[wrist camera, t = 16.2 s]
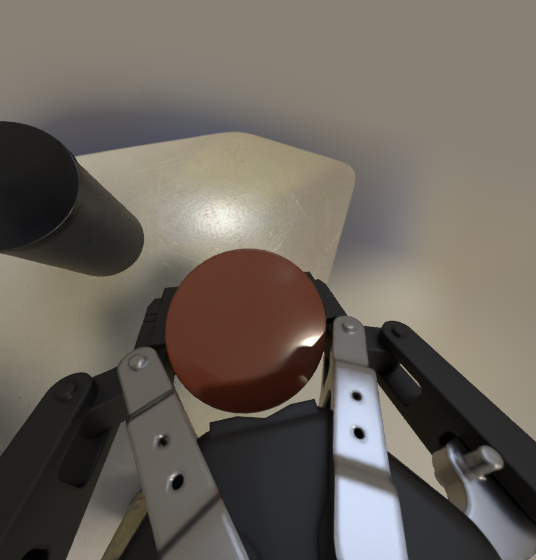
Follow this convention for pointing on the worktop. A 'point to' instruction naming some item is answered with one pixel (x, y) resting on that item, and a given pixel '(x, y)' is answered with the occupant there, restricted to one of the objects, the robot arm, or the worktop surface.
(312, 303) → the canister
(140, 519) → the lighter
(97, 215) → the tin
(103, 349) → the worktop surface
